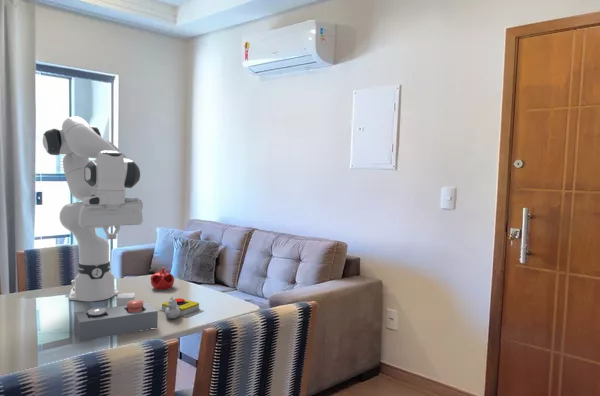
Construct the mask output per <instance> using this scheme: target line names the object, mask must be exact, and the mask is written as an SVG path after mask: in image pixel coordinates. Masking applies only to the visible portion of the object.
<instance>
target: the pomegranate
mask: <svg viewBox="0 0 600 396" xmlns="http://www.w3.org/2000/svg"><path fill="white" fill-rule="evenodd" d="M165 268H166V267H162V270H161V269H157V270H156V271H155V272H154V273H153V274H152V275H151V276H150V284H151V286H152V288H154V289H155V290H157V291H158V290H159V291H162V290H169V289H171V288H172V287H173V286H174V283H175V277H174V275H173V274H172V273H169V272H171V270H166V269H165Z"/></svg>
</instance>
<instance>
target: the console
mask: <svg viewBox="0 0 600 396" xmlns="http://www.w3.org/2000/svg"><path fill="white" fill-rule="evenodd" d="M104 308H105V309H106V314H105V315H104V316H102V317H95V318H90V316H88V310H89V309H88V310H82V311H74V314H73V315H74V316H73V318H74V320H73V321H74V323H73V324H74V326H73V327H74V332H75V335H76V337H77V339H78V341H79V342H84V341H89V340H90V341H91V340H96V339H101V338H102V339H103V338H108V337H115V336H120V335H126V334H125V333H127V334H130V333H129V332H133V333H136V332H135V331H139V332H141V331H140V330H145V331H147V330H146V329H151V328H157V329H158V320H159V319H158V318H159V317H158V310H157V309H156V308H155V306H153V305H152V304H151V303H150V302H143V307H142V311H137V312H130V313H128V308H127V305H125V306H117V305H116V306H110V307H104ZM151 330H152V329H151Z"/></svg>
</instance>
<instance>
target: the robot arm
mask: <svg viewBox="0 0 600 396" xmlns="http://www.w3.org/2000/svg"><path fill="white" fill-rule="evenodd" d="M42 145H43V148H44V149H45V152H46V153H48V154H49V155H51V156H59V155H64V157H63V159H62V168H63V173H64V176H65V179H66V182H67V185H68V188H69V192H70V194H71V195H72V197H74V198H75V199H77V201H76V202H71V203H68V204H65V205H63V206H62V208H61V210H60V211H59V221H60V223H61V225H62V226H63V227H64V228H65V229H66V230H68V231H69V232H71V233H72V235H73V236H74V237H75V239H76V242H77V245H78V257H79V258H78V259H79V260H78V261H79V262H78V264H77V275H76V276H75V278H74V279H72V280H71V286H72V288H71V290H70V292H69V295H68V300H69V301H79V302H98V301H104V300H107V299H111V298H113V297H114V296H117V295H118V294H120V292H119V290H117V289H116V286H115V274H113V273H112V272H111V267H112V266H111V260H110V245H109V243H108V241H107V240H116V239H117V237H118V236H117V234H118V233H119V231H120V229H121V226H137V225H138V226H139V225H140V226H141V225H142V223H143V221H144V218H143V212H142V211H143V207H144V205H143V204H144V203H143V201H142V199H139V198H137V197H135V198H132V197H131V198H129V197H128V198H127V197H126V189H132V188H133V187H134V186H136V184H137V183H138V182H139V181H140V178H141V171H140V168H139V166H138V165H137V163H135V161H134V160H132V159H129V158H128V157H127V156H126V155H125V154H124V153H123V152H122V151H121V150H120V149H119V148H118V147H117V146H116V145H115V144H113V142H111V141H109V140H107V139H105V138H104V137H102V134H101V131H100V130H99V128H98V127H97V126H95V125H92V124H91V125H90V124H89V122H87V121H86V120H85V119H83V118H82V117H80V116H69V117H67V118H66V119H65V120H64V121H63V122H62V126H61V127H59V128H51V129H48V130H46V131H45V132H43V137H42ZM90 158H91V159H94V160H90ZM78 200H79V201H78ZM112 227H114V229H115V230H114V231H113V233H110V232H109V231H108V230H109V228H112ZM96 229H103V231H104V232H105V234H106V239H107V240H106V239H105V238H102V237H101V236H99V235H97V232H96V231H97V230H96Z"/></svg>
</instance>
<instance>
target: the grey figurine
mask: <svg viewBox="0 0 600 396" xmlns="http://www.w3.org/2000/svg"><path fill="white" fill-rule="evenodd" d="M173 299H174V300H173ZM175 299H176V298H173V297H171V298H170V299H169V300H168V301H169V302H168V308H166V310H165V312H164V314H165V317H166V318H167V319H176V318H178V317H179V316H180V309H179V305H177V301H176V300H175Z"/></svg>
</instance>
